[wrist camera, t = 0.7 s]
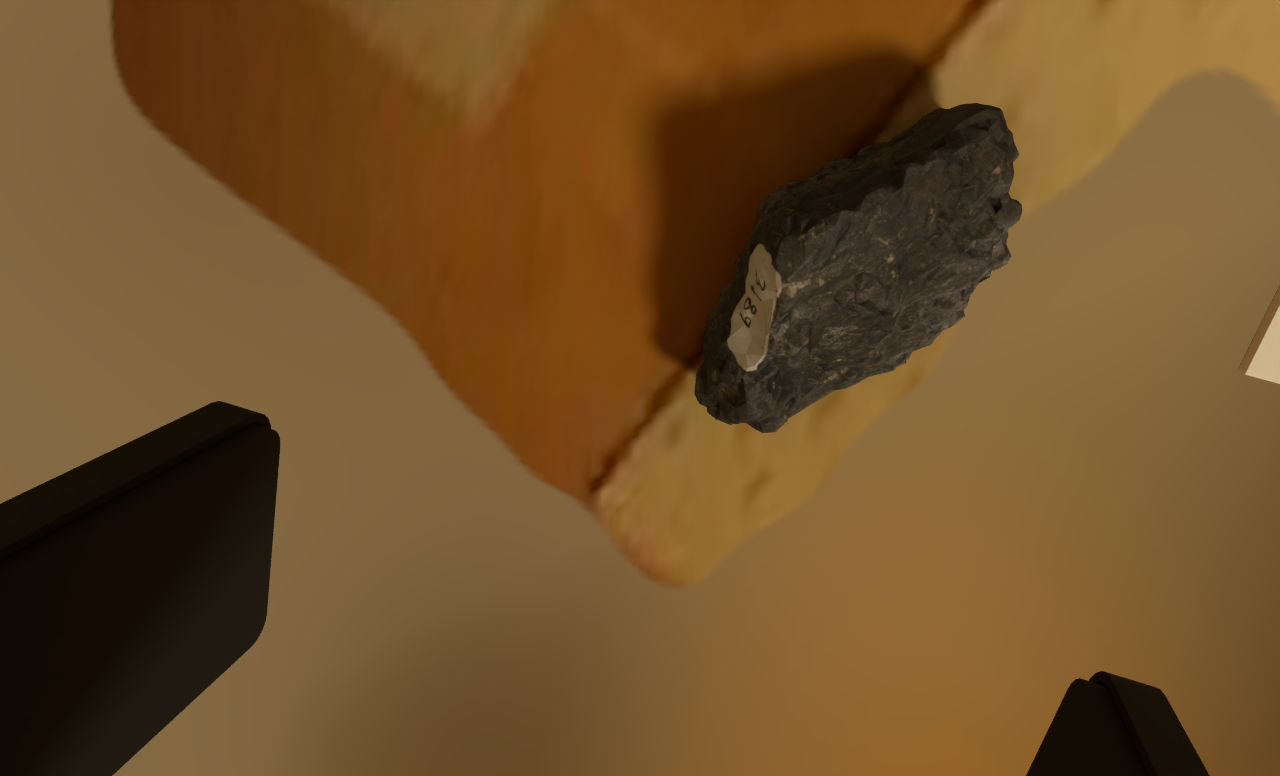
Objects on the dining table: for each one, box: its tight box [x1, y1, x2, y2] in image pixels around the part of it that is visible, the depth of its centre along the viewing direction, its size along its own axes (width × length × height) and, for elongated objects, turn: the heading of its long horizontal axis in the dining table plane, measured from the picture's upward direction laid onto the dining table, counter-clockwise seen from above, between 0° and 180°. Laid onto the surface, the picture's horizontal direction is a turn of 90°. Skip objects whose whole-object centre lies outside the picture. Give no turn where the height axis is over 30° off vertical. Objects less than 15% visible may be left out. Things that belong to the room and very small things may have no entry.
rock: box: [695, 103, 1022, 433], centre depth 30 cm, size 12×8×10 cm
